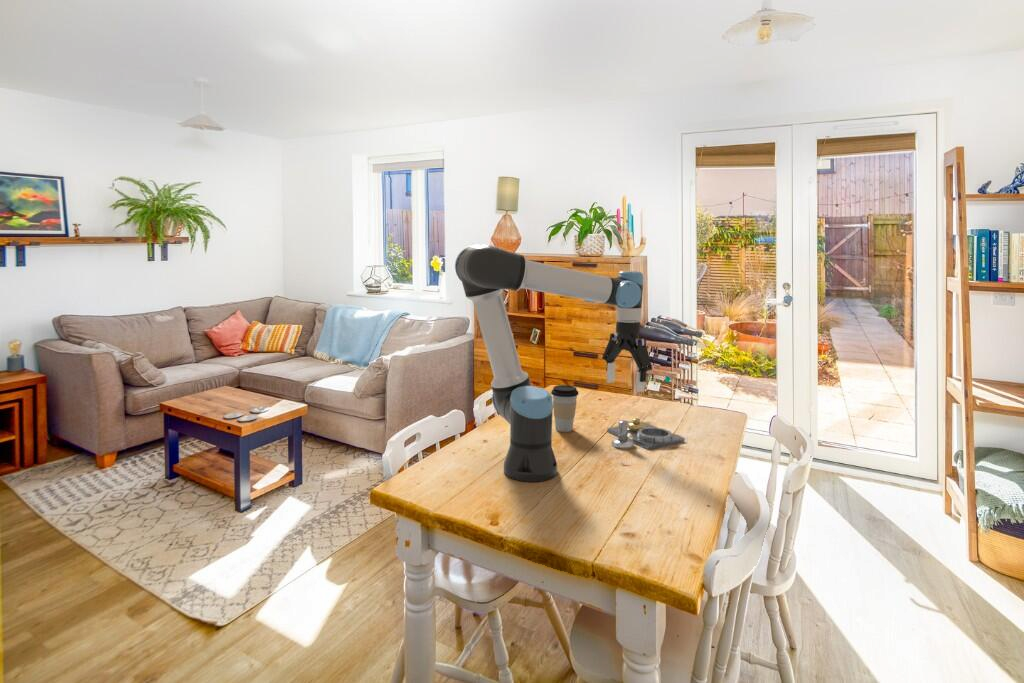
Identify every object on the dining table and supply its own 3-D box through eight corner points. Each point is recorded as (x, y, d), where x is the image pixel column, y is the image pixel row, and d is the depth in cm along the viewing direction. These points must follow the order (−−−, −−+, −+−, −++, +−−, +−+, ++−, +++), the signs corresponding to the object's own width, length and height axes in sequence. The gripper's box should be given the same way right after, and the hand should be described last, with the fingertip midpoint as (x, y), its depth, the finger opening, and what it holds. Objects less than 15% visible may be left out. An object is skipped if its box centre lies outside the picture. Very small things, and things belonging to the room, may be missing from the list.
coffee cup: (577, 425, 202) (578, 384, 199) (577, 434, 192) (578, 391, 190) (550, 424, 203) (551, 384, 200) (549, 433, 193) (550, 390, 191)
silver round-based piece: (621, 450, 178) (622, 426, 176) (606, 443, 184) (607, 420, 182) (638, 447, 181) (639, 423, 180) (623, 440, 187) (624, 417, 186)
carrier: (648, 449, 179) (649, 435, 178) (607, 431, 196) (607, 418, 195) (684, 441, 187) (685, 427, 186) (642, 424, 204) (642, 411, 203)
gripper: (666, 325, 169) (662, 394, 172) (610, 315, 190) (607, 377, 193) (648, 326, 165) (644, 397, 169) (593, 316, 186) (590, 379, 189)
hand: (624, 386), depth 181 cm, fingers open, 13 cm apart
